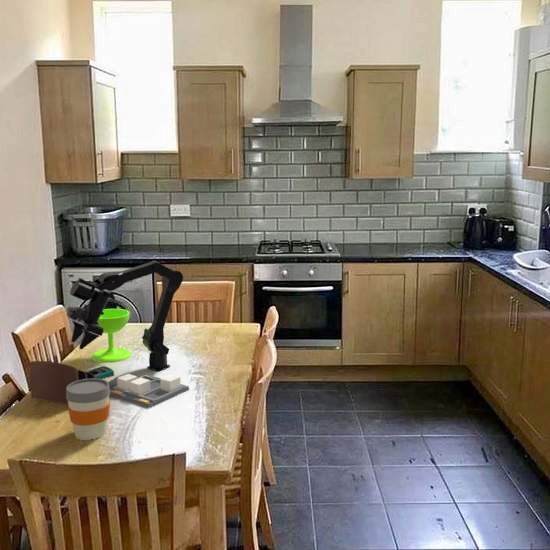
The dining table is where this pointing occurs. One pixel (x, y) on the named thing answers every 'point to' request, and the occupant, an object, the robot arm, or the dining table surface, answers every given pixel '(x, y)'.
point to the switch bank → (148, 393)
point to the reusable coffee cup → (88, 407)
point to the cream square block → (170, 383)
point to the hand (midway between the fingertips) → (76, 345)
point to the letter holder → (53, 380)
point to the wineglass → (112, 323)
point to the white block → (125, 381)
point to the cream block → (140, 386)
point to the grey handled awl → (113, 383)
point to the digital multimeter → (101, 372)
